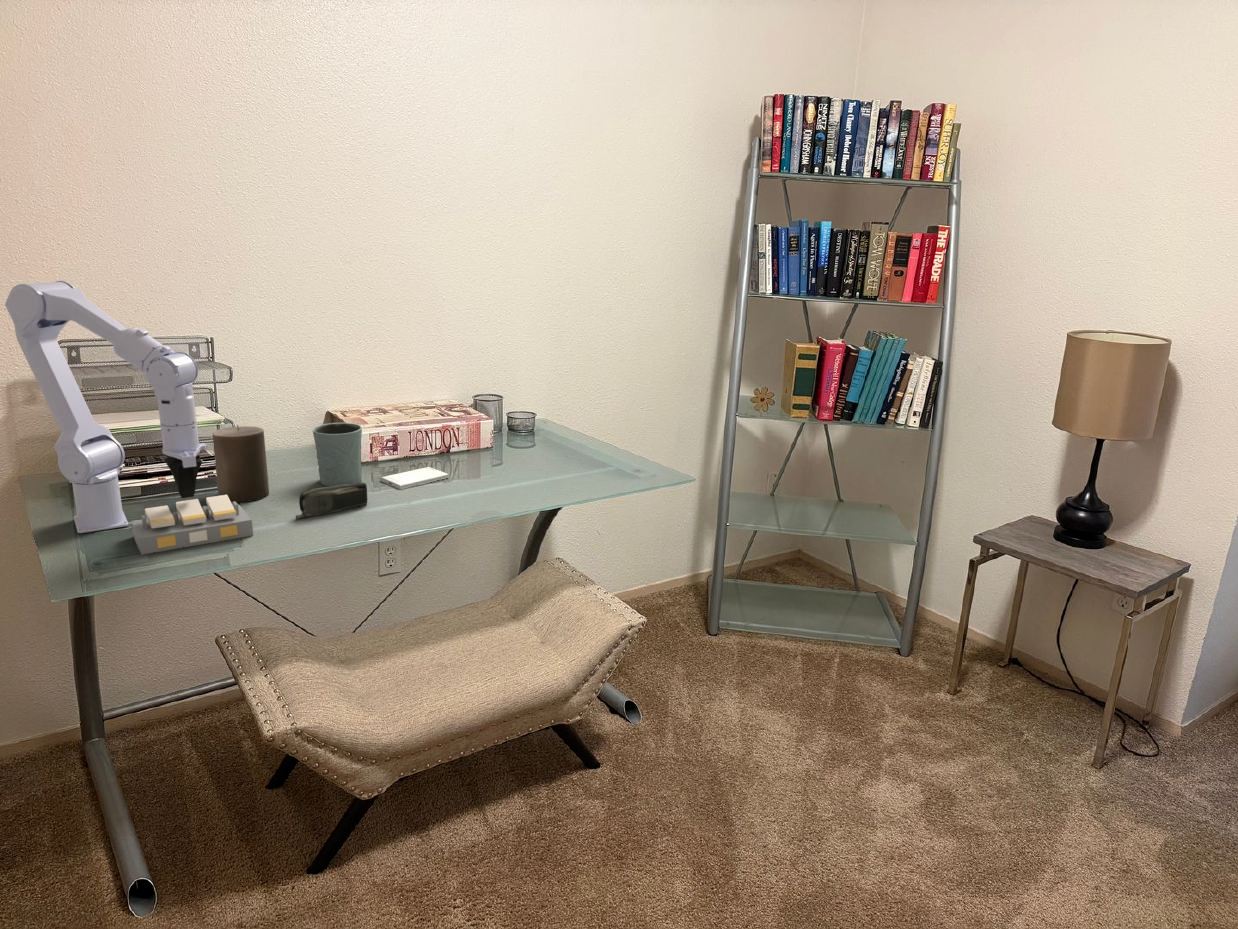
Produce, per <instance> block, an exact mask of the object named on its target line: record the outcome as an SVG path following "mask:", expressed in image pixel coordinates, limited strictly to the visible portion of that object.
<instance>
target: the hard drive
mask: <svg viewBox="0 0 1238 929" xmlns="http://www.w3.org/2000/svg"><path fill="white" fill-rule="evenodd" d="M446 478H449V474H448V473H446V472H444V471H441V470H438V469H435V468H433V467H430V466H427V467H423V468H418V469H411V470H408V471H407V470H406V471H404V472H400V473H395V474H389V475H386V476H381V477H380V478H379V480H380V482H382V483H384V484H386V485H389V486H391V487H393V486H394V487H393V488H396V489H399V490H404V489H409V488H408V487H410V488H413V487H412V486H414V487H417V486H416V485H418V486H421V485H427V484H431V483H430V482H432V483H434V482H433V481H436V480H439V479H445V480H447V479H446ZM436 482H437V481H436Z"/></svg>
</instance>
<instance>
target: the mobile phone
mask: <svg viewBox="0 0 1238 929" xmlns="http://www.w3.org/2000/svg"><path fill="white" fill-rule="evenodd" d="M298 500H299V501H298V502H299V510H300V511H301V514H298V515H295V519H296V520H299V519H304V518H308V517H313V516H320V515H325V514H331V513H335V512H340V511H341V512H342V511H348V510H352V509H357V508H362V507H364V506H367V504H368V487H367V484H366V483H365V482H358V483H354V484H345V485H338V486H325V487H316V488H313V489H310V490H307V491H304V492H303V493H301V494H300V496H299V499H298Z"/></svg>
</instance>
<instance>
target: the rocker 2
mask: <svg viewBox="0 0 1238 929" xmlns="http://www.w3.org/2000/svg"><path fill="white" fill-rule="evenodd" d="M175 505H176V506H175V507H176V511H177V512H178V514H179V515H180V517H181V520H182V522H183V524H184V526H185V525H191V524H197V523H204V522H206V516H205V514H204V512H203V506H201V503H200V501H199V499H198V498H194V499H187V500H179V501H175Z"/></svg>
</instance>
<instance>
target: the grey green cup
mask: <svg viewBox="0 0 1238 929" xmlns="http://www.w3.org/2000/svg"><path fill="white" fill-rule="evenodd" d="M362 433H363V427H362V426H361V425H360V424H357V423H353V422H330V423H324V424H319V425H317V426H315V427H313V429H312V434H313V439H314V444H315V450H316V459H317V465H318V476H319V481H320V484H321V485H324V486H326V487H332V486H338V485H345V484H354V483H361V480H362V465H361V462H362V438H363V437H362V435H363V434H362Z"/></svg>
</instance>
